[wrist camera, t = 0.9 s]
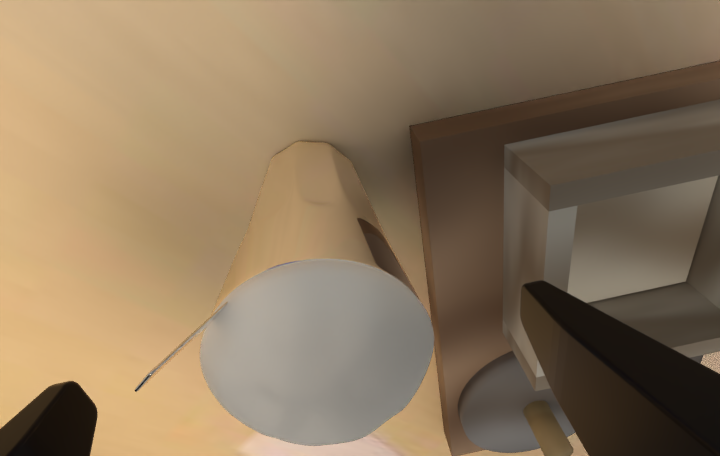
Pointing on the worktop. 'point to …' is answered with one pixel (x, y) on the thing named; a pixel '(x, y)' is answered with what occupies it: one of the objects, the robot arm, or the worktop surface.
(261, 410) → the milkshake
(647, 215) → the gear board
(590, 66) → the worktop surface
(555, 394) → the robot arm
